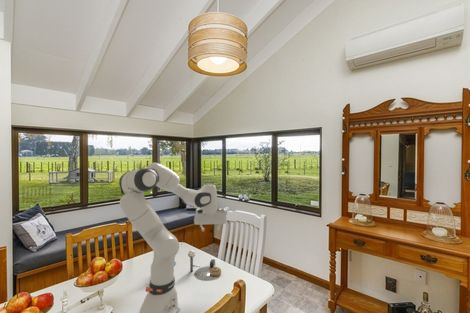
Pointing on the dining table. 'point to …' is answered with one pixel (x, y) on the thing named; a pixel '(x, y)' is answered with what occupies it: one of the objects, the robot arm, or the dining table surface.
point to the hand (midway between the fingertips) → (210, 230)
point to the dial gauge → (191, 260)
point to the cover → (215, 272)
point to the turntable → (205, 272)
